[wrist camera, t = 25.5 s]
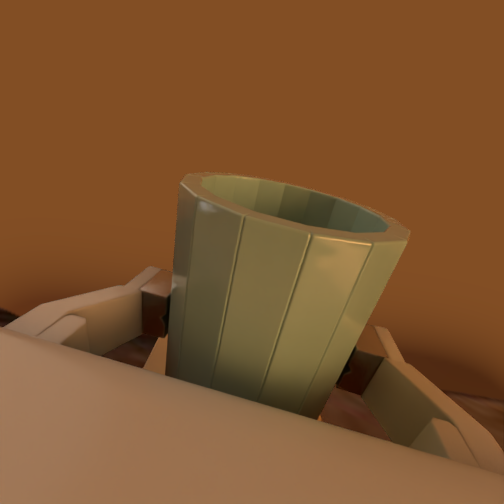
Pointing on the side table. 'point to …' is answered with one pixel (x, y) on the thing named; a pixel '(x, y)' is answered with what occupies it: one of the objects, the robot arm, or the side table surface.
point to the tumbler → (273, 287)
